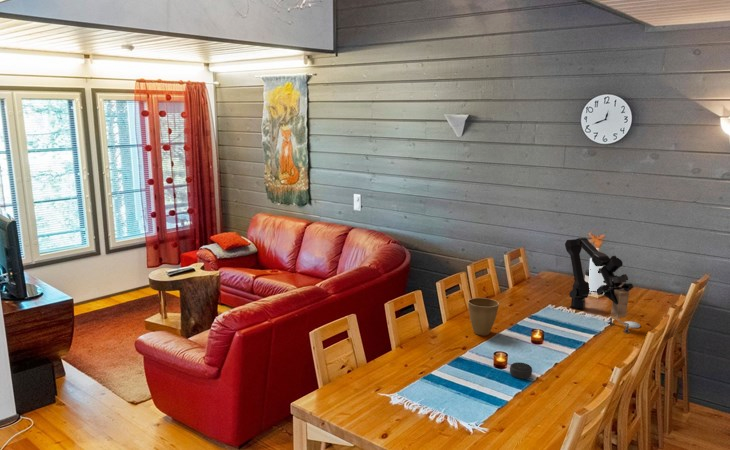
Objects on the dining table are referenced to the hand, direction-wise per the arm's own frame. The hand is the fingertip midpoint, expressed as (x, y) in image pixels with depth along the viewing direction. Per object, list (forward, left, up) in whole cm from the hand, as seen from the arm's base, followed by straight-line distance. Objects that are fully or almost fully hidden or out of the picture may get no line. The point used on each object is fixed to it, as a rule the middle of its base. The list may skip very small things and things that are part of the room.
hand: (621, 303), depth 298 cm
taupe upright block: (-1, 0, -7) cm, 7 cm away
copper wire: (-1, +1, -13) cm, 14 cm away
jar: (-40, +57, -14) cm, 71 cm away
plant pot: (-46, -55, -14) cm, 73 cm away
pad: (+2, +10, -13) cm, 17 cm away
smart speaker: (-8, -84, -14) cm, 86 cm away
